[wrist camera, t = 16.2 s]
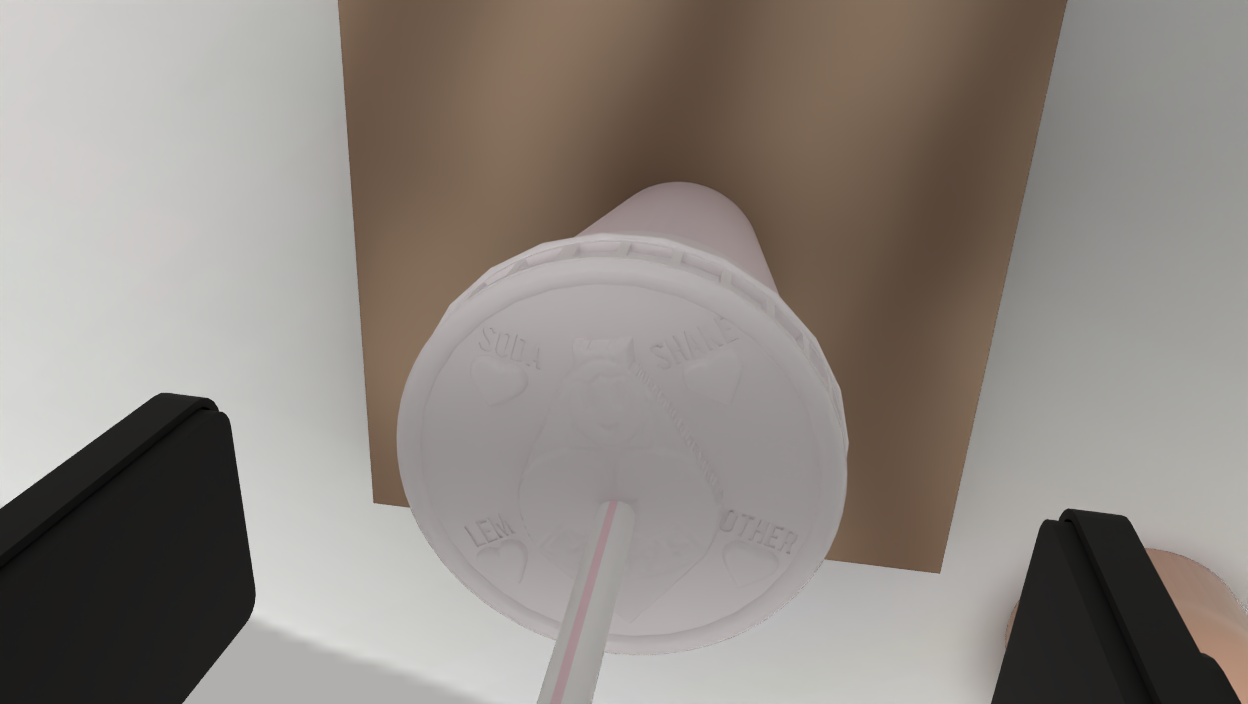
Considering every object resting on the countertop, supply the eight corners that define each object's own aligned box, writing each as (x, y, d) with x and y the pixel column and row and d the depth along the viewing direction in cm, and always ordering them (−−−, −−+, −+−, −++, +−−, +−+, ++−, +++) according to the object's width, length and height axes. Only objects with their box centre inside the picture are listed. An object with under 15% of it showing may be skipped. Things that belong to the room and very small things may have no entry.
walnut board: (1061, -73, 19) (1083, -74, 18) (931, 539, 25) (940, 573, 24) (359, -107, 21) (330, -110, 20) (393, 474, 27) (373, 502, 26)
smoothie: (559, 389, 24) (304, 916, 11) (525, 129, 21) (145, 415, 8) (823, 384, 22) (883, 962, 10) (820, 108, 20) (896, 403, 7)
